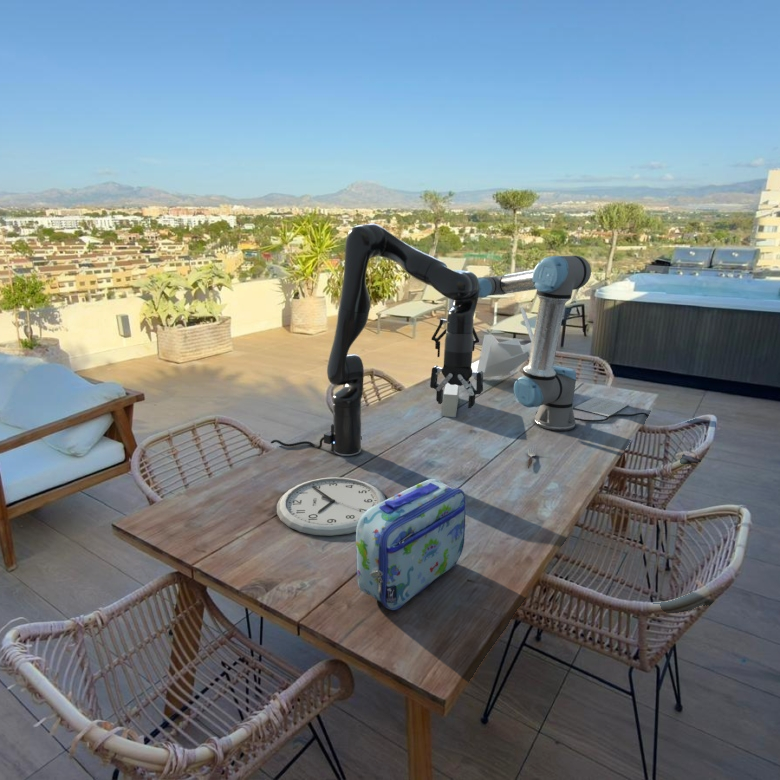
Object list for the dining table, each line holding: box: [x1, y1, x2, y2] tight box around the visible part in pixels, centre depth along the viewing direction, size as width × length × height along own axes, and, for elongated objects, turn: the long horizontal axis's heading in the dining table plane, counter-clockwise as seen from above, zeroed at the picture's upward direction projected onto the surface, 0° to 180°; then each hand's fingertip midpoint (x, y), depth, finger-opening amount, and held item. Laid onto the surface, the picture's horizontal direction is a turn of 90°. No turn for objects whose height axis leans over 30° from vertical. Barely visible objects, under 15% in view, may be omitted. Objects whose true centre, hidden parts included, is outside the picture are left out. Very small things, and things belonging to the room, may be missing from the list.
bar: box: [441, 383, 460, 418], centre depth 222 cm, size 25×5×9 cm, turn 170°
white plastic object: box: [471, 307, 534, 379], centre depth 256 cm, size 37×45×31 cm
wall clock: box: [276, 476, 387, 537], centre depth 142 cm, size 30×2×30 cm
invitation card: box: [573, 396, 629, 417], centre depth 226 cm, size 21×1×15 cm
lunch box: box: [355, 478, 466, 611], centre depth 110 cm, size 26×11×21 cm, turn 134°
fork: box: [527, 445, 537, 469], centre depth 172 cm, size 3×16×2 cm, turn 160°
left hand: (455, 405), depth 145 cm, fingers open, 8 cm apart
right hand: (454, 357), depth 226 cm, fingers open, 13 cm apart
